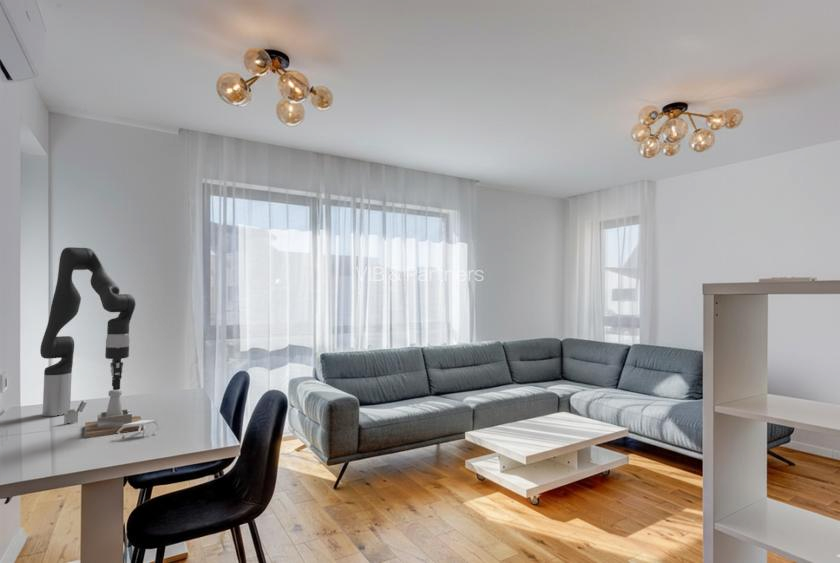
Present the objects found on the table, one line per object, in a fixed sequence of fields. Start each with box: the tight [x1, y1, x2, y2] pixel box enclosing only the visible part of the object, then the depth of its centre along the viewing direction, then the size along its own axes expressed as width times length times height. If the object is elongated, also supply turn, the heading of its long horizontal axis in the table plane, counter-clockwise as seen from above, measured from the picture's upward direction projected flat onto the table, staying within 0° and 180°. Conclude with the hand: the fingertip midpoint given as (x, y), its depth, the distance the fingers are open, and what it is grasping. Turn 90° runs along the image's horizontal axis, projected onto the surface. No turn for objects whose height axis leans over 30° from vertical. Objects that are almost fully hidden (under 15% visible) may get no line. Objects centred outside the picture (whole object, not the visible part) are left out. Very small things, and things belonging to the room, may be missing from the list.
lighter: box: [63, 400, 88, 425], centre depth 178 cm, size 7×2×8 cm, turn 149°
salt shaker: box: [106, 388, 123, 417], centre depth 170 cm, size 6×6×13 cm
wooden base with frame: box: [84, 408, 143, 439], centre depth 170 cm, size 18×18×6 cm
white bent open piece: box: [116, 419, 160, 439], centre depth 160 cm, size 12×8×5 cm
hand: (115, 387), depth 171 cm, fingers open, 8 cm apart
